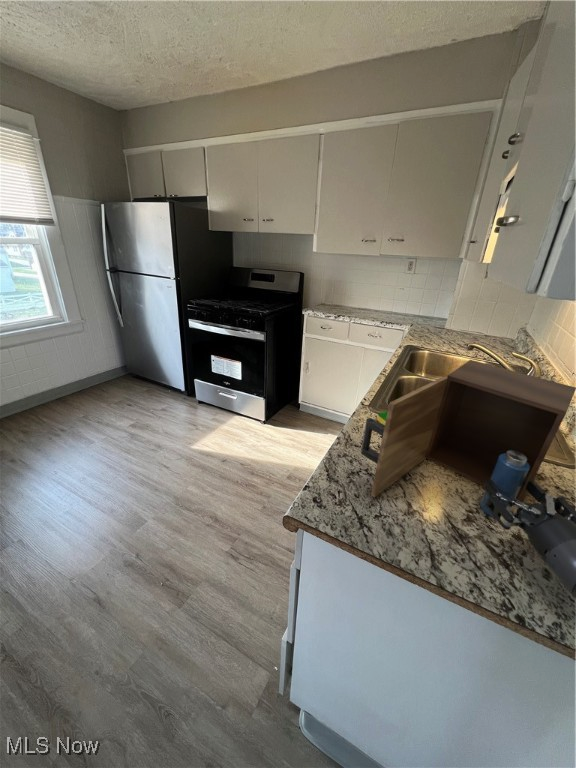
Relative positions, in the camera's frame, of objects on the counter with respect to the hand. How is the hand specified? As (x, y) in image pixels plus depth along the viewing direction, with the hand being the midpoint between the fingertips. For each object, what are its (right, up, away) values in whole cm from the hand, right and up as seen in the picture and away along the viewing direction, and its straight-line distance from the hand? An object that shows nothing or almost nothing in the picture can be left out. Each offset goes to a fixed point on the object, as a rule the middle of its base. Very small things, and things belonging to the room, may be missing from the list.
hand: (507, 483), depth 64 cm
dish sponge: (-11, +6, +31) cm, 34 cm away
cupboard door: (-20, -1, +14) cm, 24 cm away
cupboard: (+5, -1, +17) cm, 18 cm away
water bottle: (0, -7, +4) cm, 8 cm away
